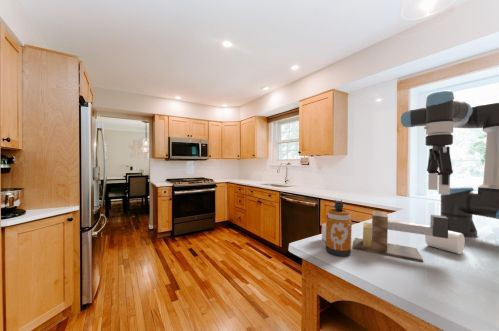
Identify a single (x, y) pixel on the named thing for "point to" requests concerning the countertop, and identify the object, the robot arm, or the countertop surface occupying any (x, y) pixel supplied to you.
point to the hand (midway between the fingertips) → (438, 191)
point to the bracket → (385, 240)
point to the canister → (338, 230)
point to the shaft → (423, 227)
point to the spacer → (367, 235)
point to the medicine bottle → (324, 231)
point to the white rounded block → (447, 242)
